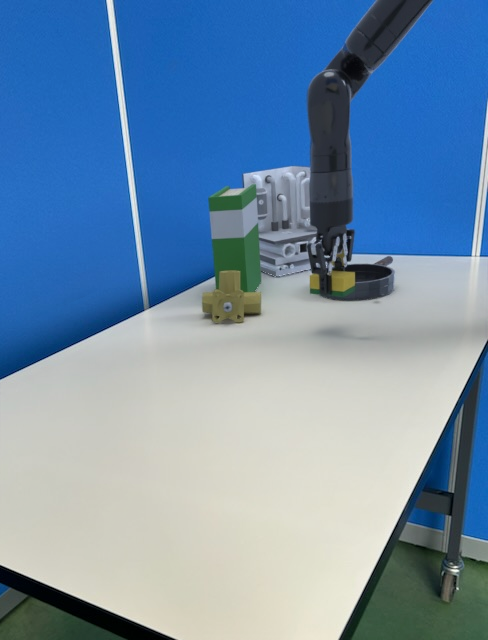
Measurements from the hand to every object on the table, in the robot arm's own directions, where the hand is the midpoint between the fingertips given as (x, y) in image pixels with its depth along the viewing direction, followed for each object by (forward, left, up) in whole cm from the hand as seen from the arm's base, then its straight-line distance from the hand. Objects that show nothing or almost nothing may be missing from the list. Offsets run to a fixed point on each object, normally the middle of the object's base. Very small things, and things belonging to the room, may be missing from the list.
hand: (332, 290), depth 117 cm
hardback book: (+34, -17, -9) cm, 39 cm away
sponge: (0, 0, 0) cm, 0 cm away
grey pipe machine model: (+36, -42, -9) cm, 56 cm away
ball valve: (+24, 0, -9) cm, 26 cm away
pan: (+9, -28, -8) cm, 30 cm away
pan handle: (+9, -42, -7) cm, 43 cm away
